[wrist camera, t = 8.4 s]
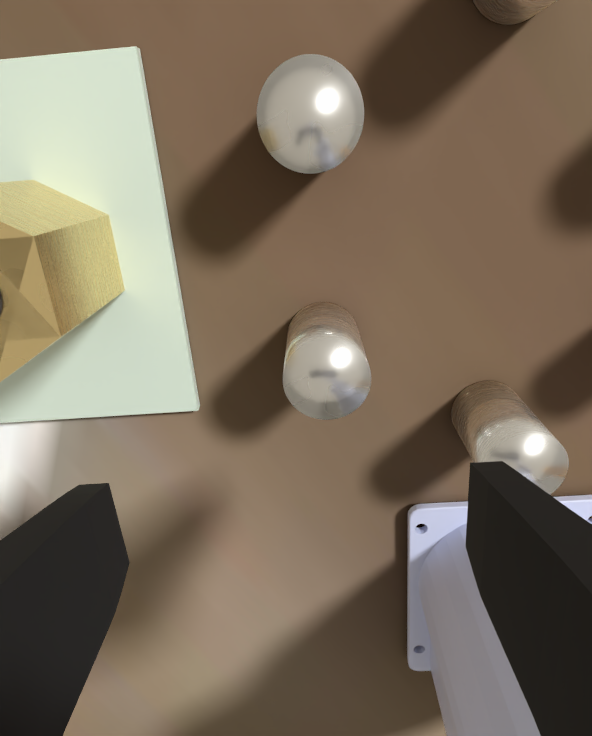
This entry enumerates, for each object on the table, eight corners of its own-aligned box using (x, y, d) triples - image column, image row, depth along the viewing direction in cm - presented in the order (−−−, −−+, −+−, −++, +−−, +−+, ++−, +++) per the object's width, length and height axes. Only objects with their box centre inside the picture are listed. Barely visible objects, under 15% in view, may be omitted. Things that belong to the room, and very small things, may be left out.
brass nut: (132, 324, 18) (72, 382, 14) (13, 334, 18) (-87, 393, 14) (100, 173, 16) (16, 179, 12) (-33, 185, 17) (-167, 196, 12)
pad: (199, 405, 20) (197, 410, 20) (1, 418, 20) (-5, 423, 20) (140, 49, 15) (135, 46, 15) (-115, 74, 16) (-125, 72, 15)
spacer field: (675, 429, 20) (759, 491, 16) (297, 451, 21) (295, 515, 17) (800, -118, 14) (984, -221, 10) (251, -59, 14) (231, -134, 11)
